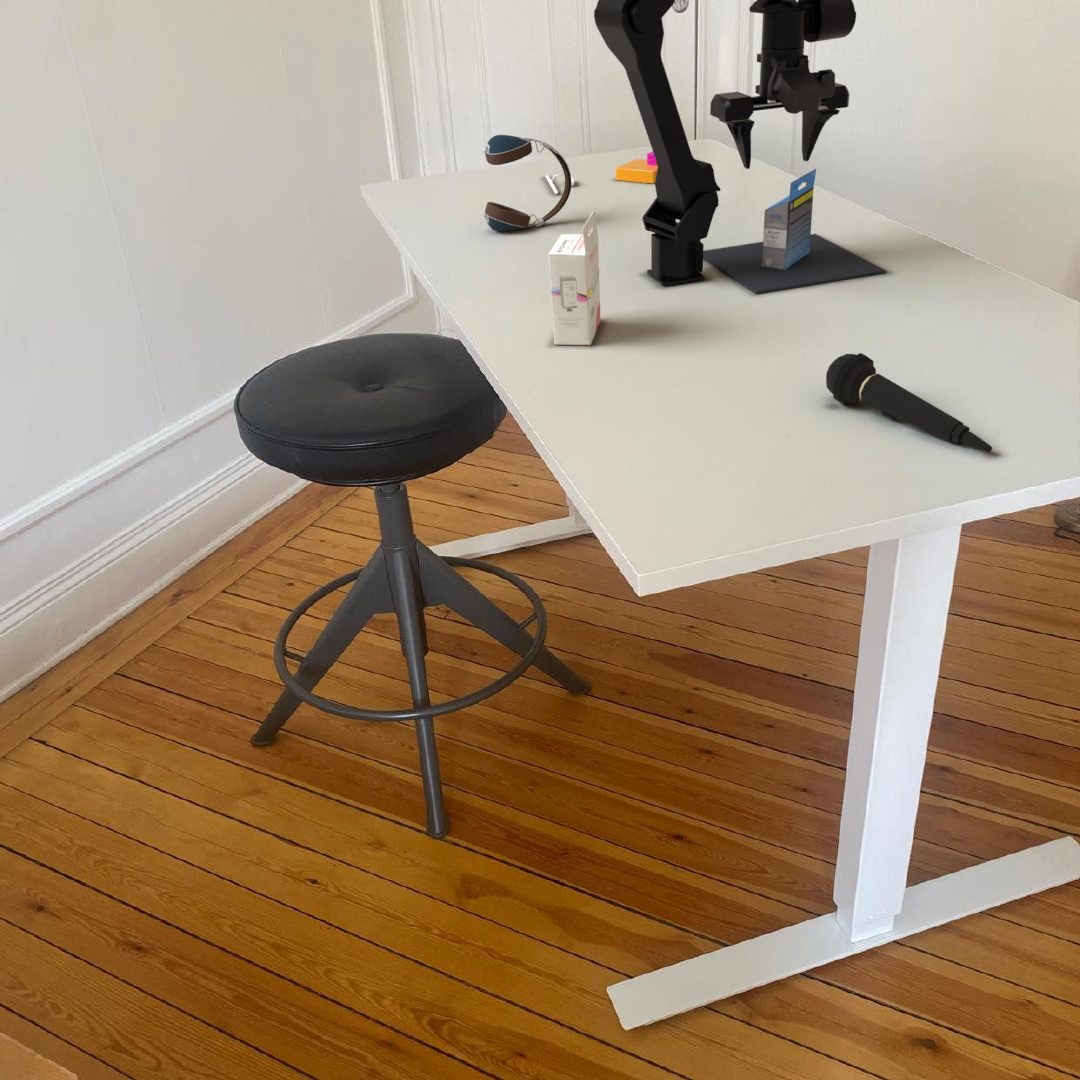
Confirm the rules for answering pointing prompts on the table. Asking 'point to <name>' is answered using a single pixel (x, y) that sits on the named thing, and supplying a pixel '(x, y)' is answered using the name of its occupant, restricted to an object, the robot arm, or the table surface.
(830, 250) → the desk mat
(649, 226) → the robot arm
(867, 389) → the microphone
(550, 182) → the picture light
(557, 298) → the ink cartridge box
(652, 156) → the orange and magenta block
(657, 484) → the table surface
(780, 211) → the blue epson carton
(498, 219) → the headphones
